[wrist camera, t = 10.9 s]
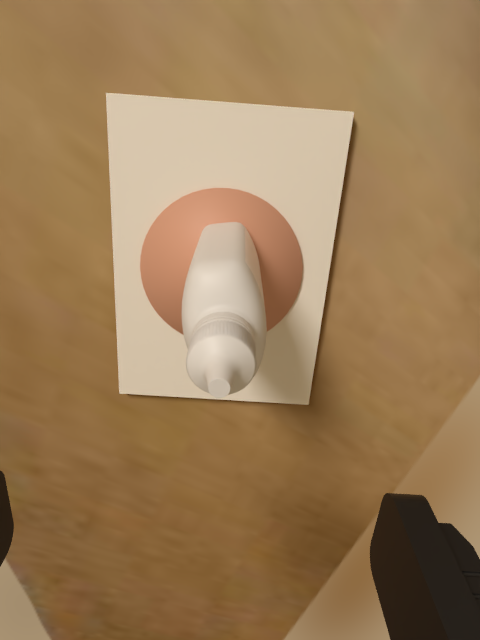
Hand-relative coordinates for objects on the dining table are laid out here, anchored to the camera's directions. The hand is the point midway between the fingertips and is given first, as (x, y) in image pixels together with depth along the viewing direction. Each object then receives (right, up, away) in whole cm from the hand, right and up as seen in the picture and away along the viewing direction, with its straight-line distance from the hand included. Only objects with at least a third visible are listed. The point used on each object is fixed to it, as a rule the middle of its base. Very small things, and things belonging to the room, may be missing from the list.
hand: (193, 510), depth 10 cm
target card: (0, +7, +16) cm, 18 cm away
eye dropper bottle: (0, +7, +16) cm, 17 cm away
